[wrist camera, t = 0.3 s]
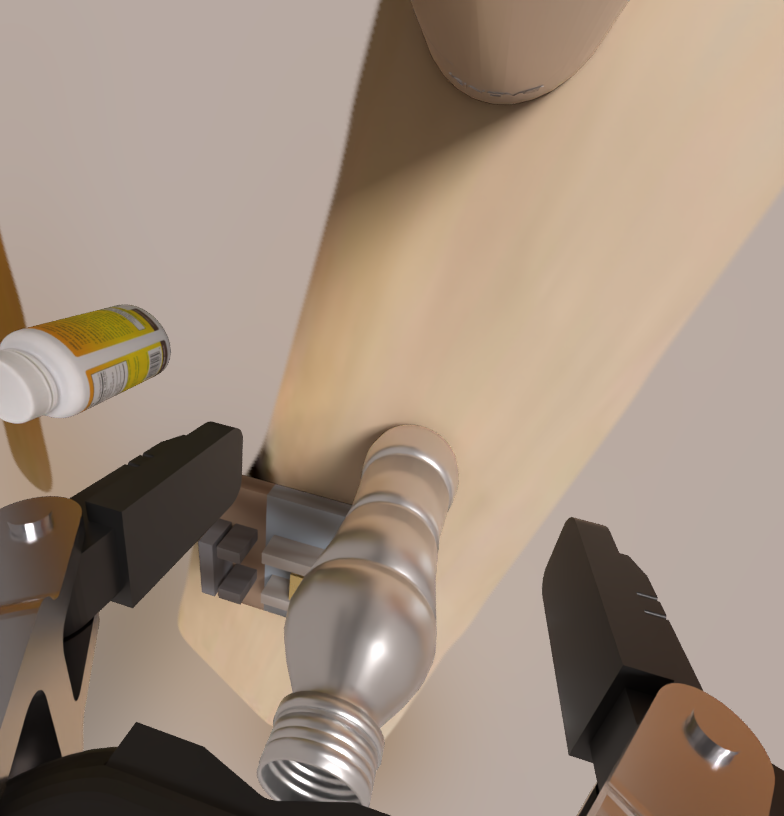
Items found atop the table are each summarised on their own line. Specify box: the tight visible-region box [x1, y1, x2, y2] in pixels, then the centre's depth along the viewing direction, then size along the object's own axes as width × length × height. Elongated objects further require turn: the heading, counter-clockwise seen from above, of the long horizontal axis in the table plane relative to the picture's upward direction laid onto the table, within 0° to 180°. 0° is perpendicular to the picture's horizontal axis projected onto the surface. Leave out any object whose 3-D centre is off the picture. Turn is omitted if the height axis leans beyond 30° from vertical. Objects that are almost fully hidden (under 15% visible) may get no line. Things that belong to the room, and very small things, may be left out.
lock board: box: [198, 475, 352, 617], centre depth 35 cm, size 14×15×4 cm
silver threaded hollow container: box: [257, 425, 459, 808], centre depth 21 cm, size 6×7×20 cm
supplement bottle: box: [0, 305, 171, 423], centre depth 27 cm, size 6×6×10 cm
